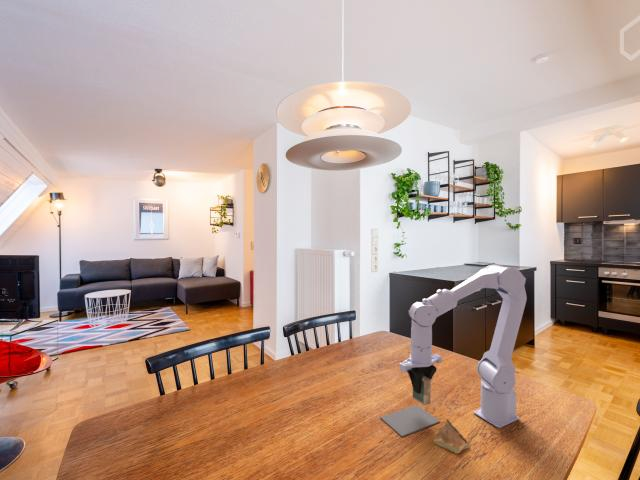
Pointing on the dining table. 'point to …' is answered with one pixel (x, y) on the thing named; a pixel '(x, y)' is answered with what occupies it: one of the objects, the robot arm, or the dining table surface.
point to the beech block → (424, 392)
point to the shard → (451, 438)
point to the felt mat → (409, 420)
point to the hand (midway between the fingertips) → (420, 390)
